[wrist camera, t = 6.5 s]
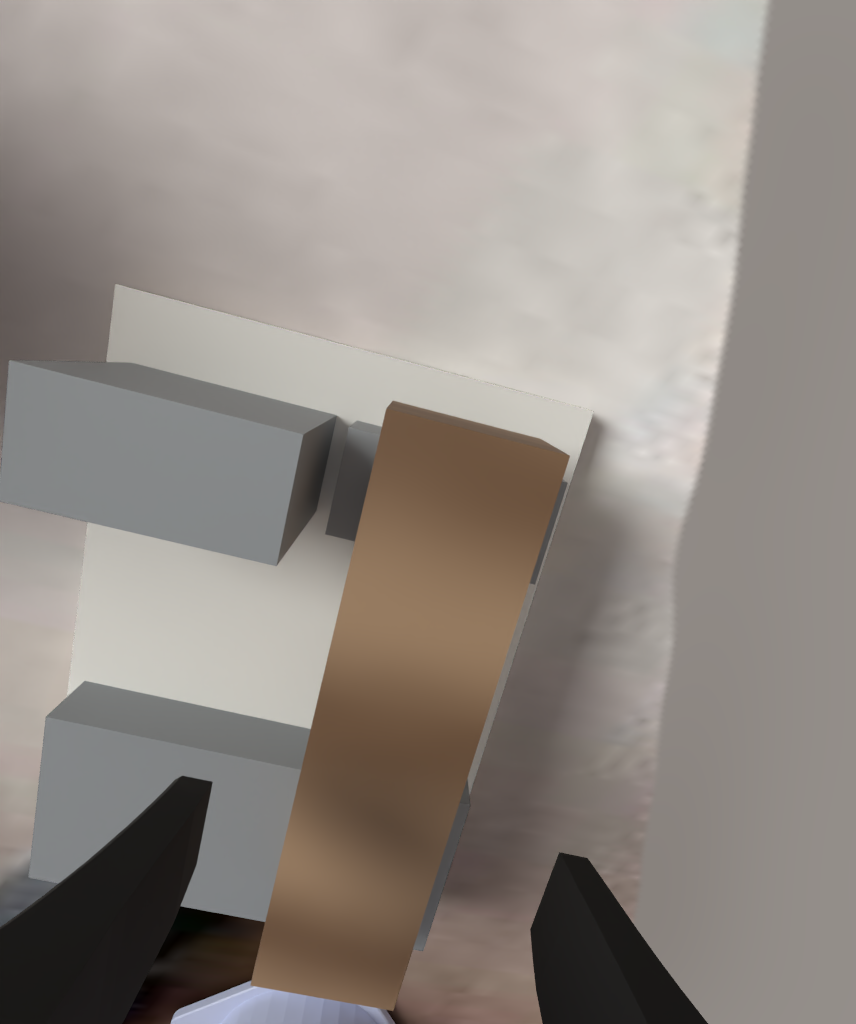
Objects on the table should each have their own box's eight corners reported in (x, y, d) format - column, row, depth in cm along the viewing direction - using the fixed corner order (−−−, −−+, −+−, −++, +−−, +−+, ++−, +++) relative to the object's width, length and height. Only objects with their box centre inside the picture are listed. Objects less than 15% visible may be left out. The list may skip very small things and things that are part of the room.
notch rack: (431, 886, 22) (435, 1071, 16) (67, 815, 21) (-67, 985, 15) (584, 408, 18) (664, 428, 12) (133, 288, 17) (-21, 245, 11)
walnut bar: (397, 911, 19) (393, 1010, 16) (277, 887, 18) (250, 985, 15) (540, 438, 15) (570, 455, 12) (393, 400, 15) (386, 408, 12)
